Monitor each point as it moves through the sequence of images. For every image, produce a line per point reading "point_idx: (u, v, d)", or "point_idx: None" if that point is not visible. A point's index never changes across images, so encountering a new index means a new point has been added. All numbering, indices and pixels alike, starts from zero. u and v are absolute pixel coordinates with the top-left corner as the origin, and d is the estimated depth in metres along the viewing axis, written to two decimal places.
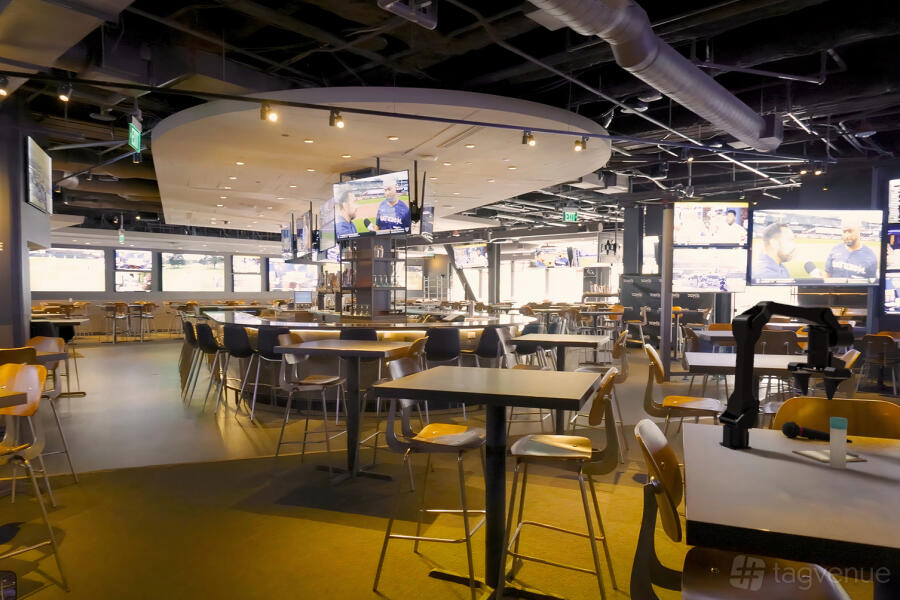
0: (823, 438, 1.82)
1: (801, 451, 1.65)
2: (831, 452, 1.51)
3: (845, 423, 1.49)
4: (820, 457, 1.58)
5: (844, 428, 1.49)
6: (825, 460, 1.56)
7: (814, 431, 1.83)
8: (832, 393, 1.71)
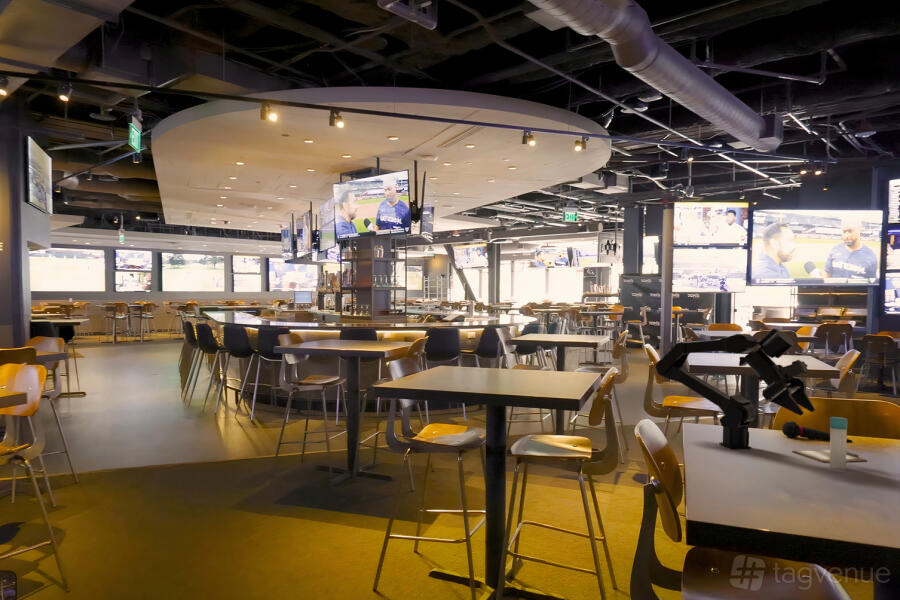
0: (823, 438, 1.82)
1: (801, 451, 1.65)
2: (831, 452, 1.51)
3: (845, 423, 1.49)
4: (820, 457, 1.58)
5: (844, 428, 1.49)
6: (825, 460, 1.56)
7: (814, 431, 1.83)
8: (795, 408, 1.54)
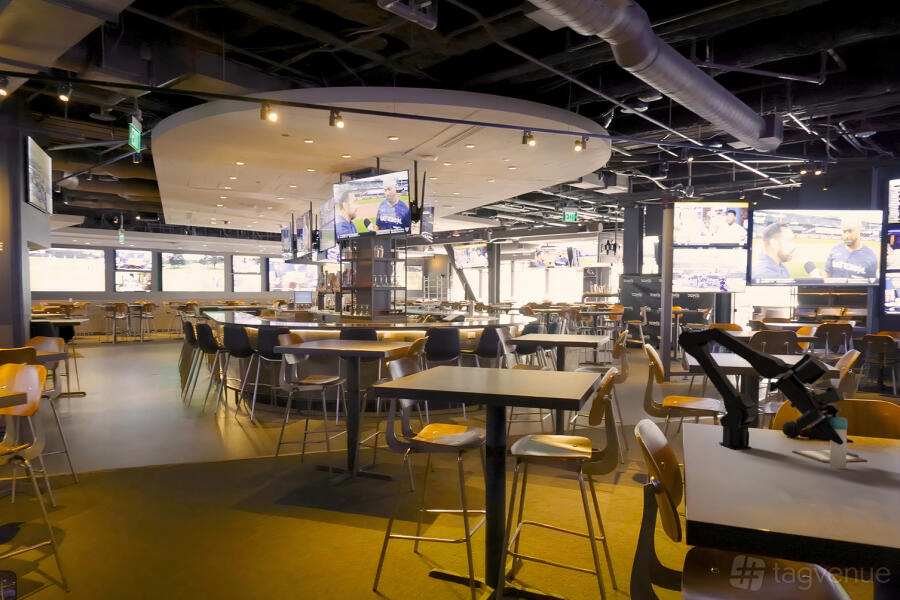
0: (823, 438, 1.83)
1: (801, 451, 1.65)
2: (831, 452, 1.51)
3: (845, 423, 1.49)
4: (820, 457, 1.58)
5: (844, 428, 1.49)
6: (825, 460, 1.56)
7: None
8: (834, 437, 1.49)
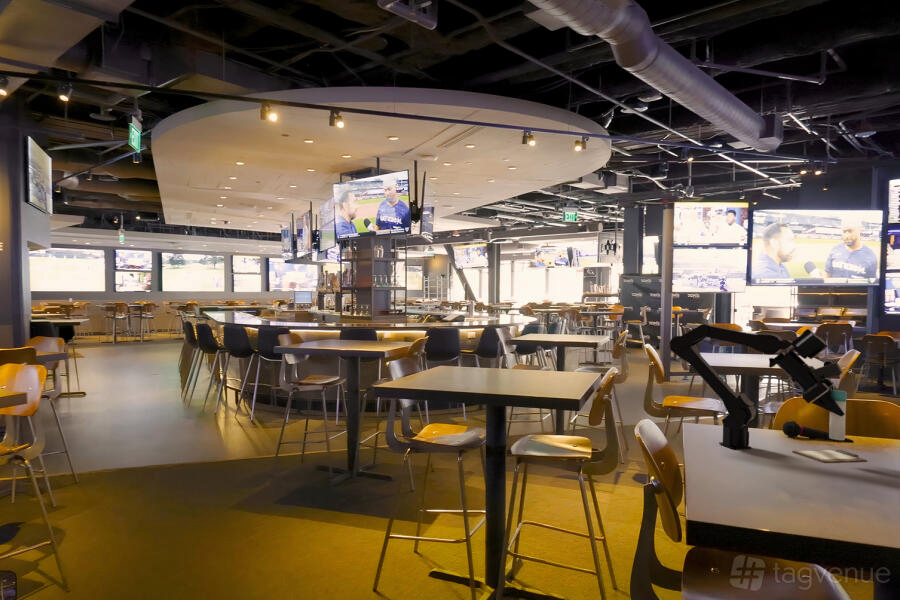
0: (824, 437, 1.83)
1: (801, 451, 1.65)
2: (832, 424, 1.55)
3: (845, 395, 1.54)
4: (820, 457, 1.58)
5: (844, 400, 1.54)
6: (825, 460, 1.56)
7: (814, 430, 1.84)
8: (836, 409, 1.53)
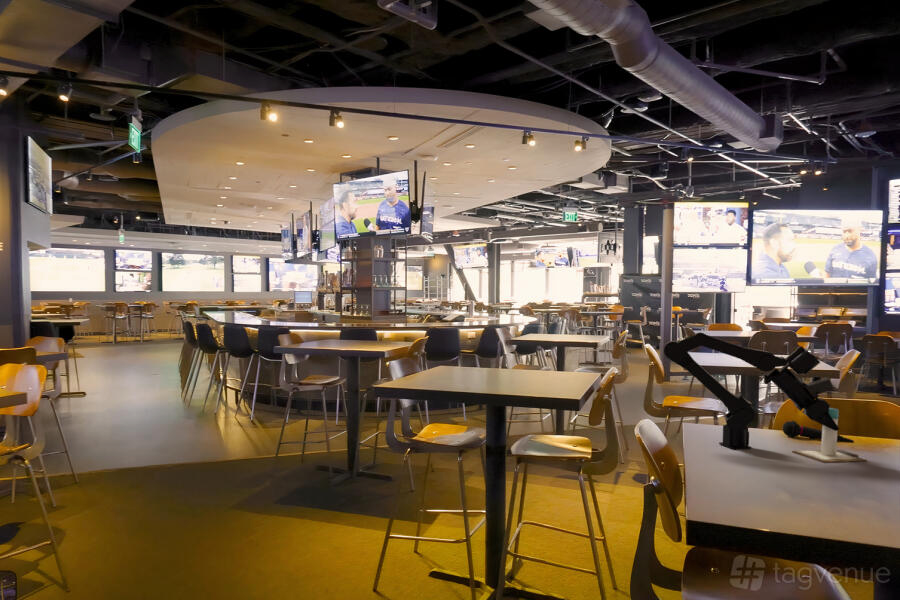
0: None
1: (801, 451, 1.65)
2: (825, 441, 1.61)
3: (838, 413, 1.61)
4: (820, 457, 1.58)
5: (837, 418, 1.61)
6: (825, 460, 1.56)
7: (815, 431, 1.84)
8: (832, 424, 1.58)
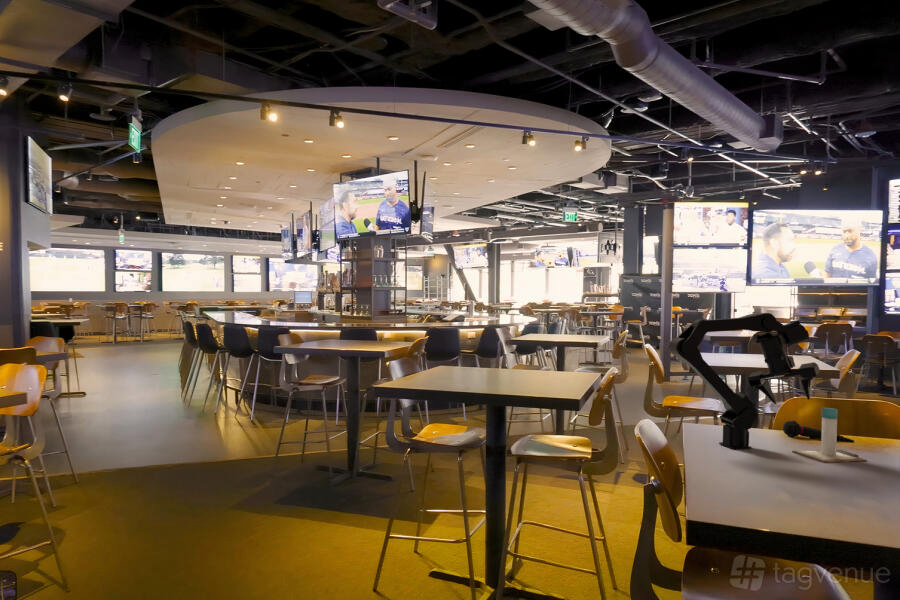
0: None
1: (801, 451, 1.65)
2: (825, 441, 1.61)
3: (837, 413, 1.61)
4: (820, 457, 1.58)
5: (836, 418, 1.61)
6: (825, 460, 1.56)
7: (815, 430, 1.84)
8: (809, 391, 1.67)
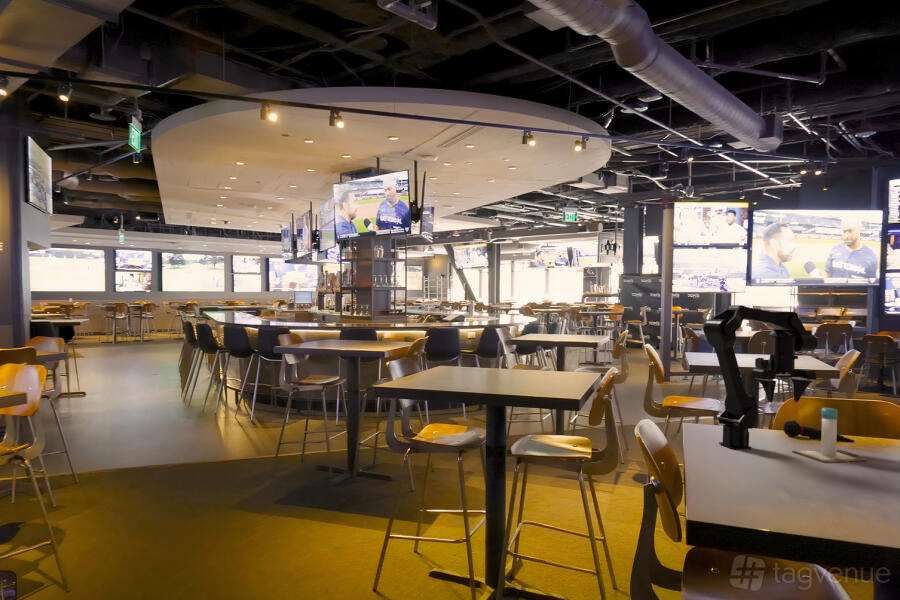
0: None
1: (801, 451, 1.65)
2: (825, 441, 1.61)
3: (836, 413, 1.61)
4: (820, 457, 1.58)
5: (836, 418, 1.60)
6: (825, 460, 1.56)
7: (815, 430, 1.84)
8: None
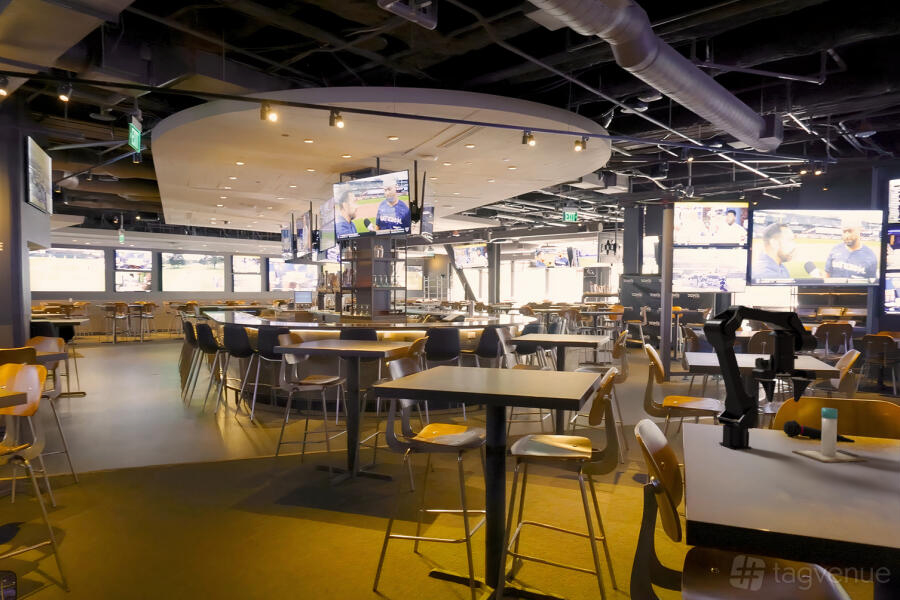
0: None
1: (801, 451, 1.65)
2: (825, 441, 1.61)
3: (837, 413, 1.61)
4: (820, 457, 1.58)
5: (836, 418, 1.61)
6: (825, 460, 1.56)
7: (815, 430, 1.85)
8: None
